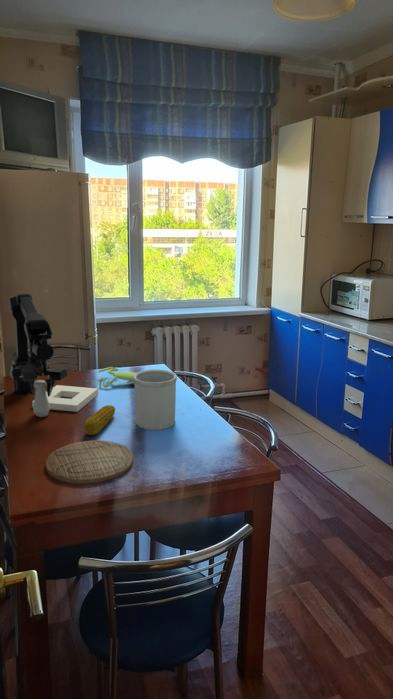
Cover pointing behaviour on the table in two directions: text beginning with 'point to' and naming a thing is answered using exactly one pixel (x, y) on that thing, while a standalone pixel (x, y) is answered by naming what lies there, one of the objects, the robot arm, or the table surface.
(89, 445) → the trivet
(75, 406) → the socket board
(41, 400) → the salt shaker
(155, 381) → the utensil holder
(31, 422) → the table surface
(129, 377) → the figurine
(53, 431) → the table surface
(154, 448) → the table surface
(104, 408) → the food
